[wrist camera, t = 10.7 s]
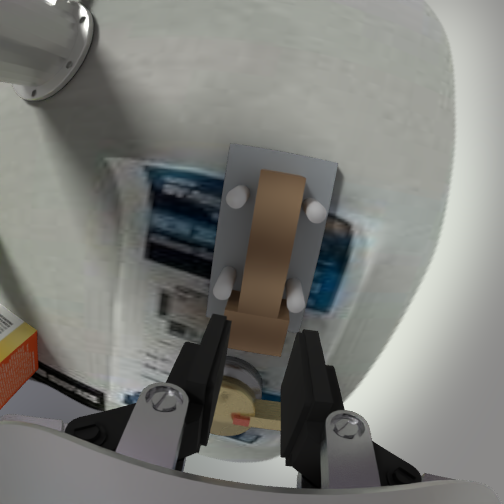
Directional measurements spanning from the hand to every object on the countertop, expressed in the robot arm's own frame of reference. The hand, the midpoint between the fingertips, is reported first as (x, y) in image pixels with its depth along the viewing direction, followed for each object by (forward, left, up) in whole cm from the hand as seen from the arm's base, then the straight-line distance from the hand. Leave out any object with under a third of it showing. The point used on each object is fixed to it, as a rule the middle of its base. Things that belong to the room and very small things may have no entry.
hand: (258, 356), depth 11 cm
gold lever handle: (+17, +2, -15) cm, 22 cm away
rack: (0, 0, -17) cm, 17 cm away
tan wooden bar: (+1, 0, -16) cm, 16 cm away
